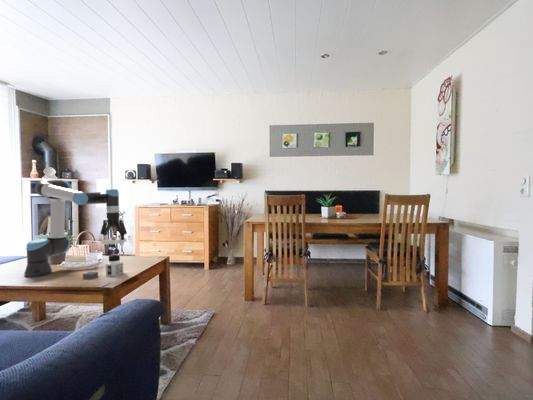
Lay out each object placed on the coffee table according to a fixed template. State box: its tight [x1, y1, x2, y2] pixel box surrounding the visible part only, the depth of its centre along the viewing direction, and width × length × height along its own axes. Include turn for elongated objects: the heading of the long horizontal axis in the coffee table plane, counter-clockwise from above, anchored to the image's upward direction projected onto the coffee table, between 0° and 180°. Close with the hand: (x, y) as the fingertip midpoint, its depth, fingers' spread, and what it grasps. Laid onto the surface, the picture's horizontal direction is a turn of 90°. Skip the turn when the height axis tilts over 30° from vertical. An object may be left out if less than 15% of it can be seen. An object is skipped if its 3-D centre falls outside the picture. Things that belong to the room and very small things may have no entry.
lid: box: [100, 236, 127, 245], centre depth 204 cm, size 11×11×4 cm
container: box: [105, 254, 124, 277], centre depth 205 cm, size 8×8×13 cm
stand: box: [82, 271, 99, 280], centre depth 197 cm, size 6×6×3 cm
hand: (114, 244), depth 204 cm, fingers closed on lid, 11 cm apart
